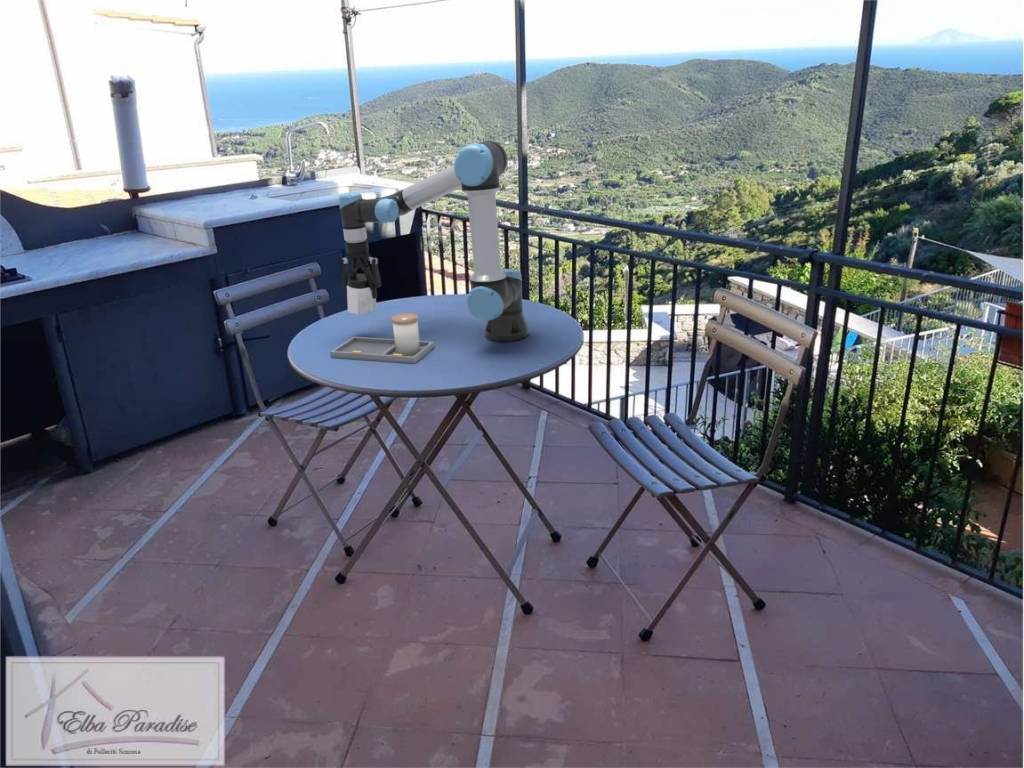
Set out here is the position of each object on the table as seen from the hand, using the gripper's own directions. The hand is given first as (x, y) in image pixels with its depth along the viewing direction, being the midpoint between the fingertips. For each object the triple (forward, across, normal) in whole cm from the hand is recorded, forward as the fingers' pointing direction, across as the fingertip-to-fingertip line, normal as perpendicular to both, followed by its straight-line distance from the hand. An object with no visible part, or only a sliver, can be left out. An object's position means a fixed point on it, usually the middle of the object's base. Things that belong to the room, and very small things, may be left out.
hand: (365, 307), depth 259 cm
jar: (+2, +2, -1) cm, 3 cm away
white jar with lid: (+12, -21, +14) cm, 28 cm away
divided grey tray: (+11, -12, +14) cm, 22 cm away
